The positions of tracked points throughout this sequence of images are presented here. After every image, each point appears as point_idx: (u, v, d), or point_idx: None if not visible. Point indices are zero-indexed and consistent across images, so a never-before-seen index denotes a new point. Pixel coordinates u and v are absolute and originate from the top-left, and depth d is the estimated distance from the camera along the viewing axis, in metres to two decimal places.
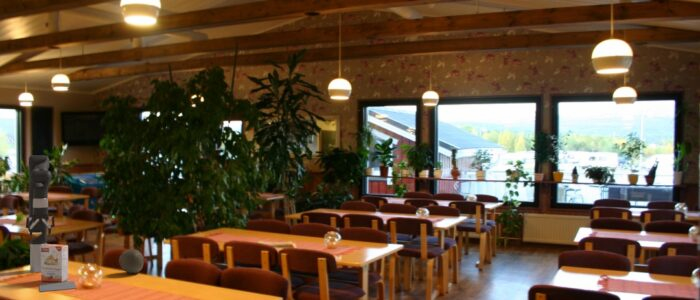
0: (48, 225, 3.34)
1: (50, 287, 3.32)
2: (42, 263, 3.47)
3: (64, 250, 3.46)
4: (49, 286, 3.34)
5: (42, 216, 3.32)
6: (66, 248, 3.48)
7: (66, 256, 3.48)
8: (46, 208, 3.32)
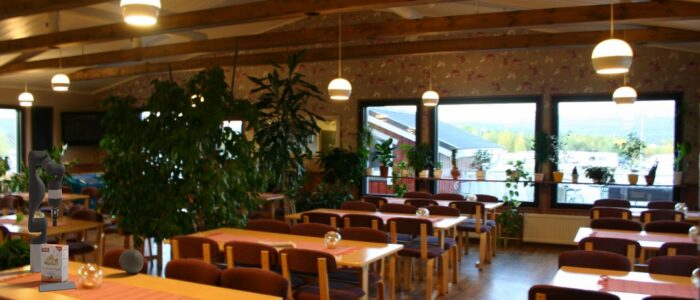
0: (56, 216, 3.57)
1: (50, 287, 3.32)
2: (42, 263, 3.47)
3: (64, 250, 3.46)
4: (49, 286, 3.34)
5: None
6: (66, 248, 3.48)
7: (66, 256, 3.48)
8: None
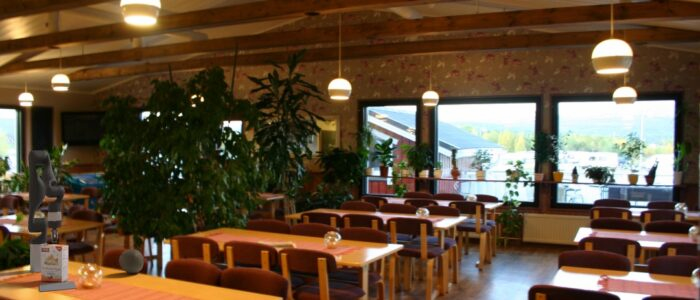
0: (56, 238, 3.57)
1: (50, 287, 3.32)
2: (42, 263, 3.47)
3: (64, 250, 3.46)
4: (49, 286, 3.34)
5: None
6: (66, 248, 3.48)
7: (66, 256, 3.48)
8: None
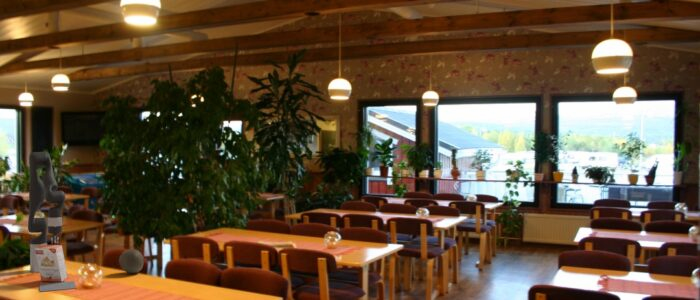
0: None
1: (50, 287, 3.32)
2: (39, 264, 3.44)
3: (58, 251, 3.41)
4: (49, 286, 3.34)
5: None
6: (60, 248, 3.43)
7: (62, 256, 3.44)
8: None
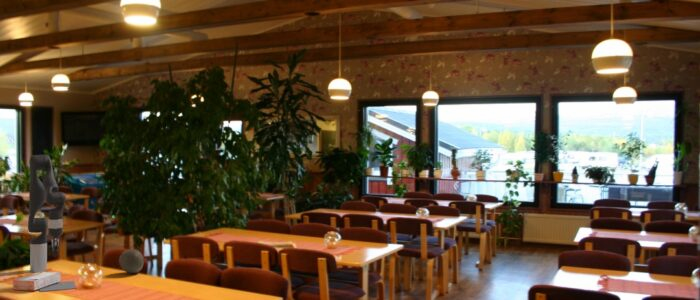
0: (57, 246, 3.45)
1: (50, 287, 3.32)
2: None
3: (37, 285, 3.26)
4: (49, 286, 3.34)
5: None
6: (36, 282, 3.25)
7: (42, 280, 3.30)
8: None
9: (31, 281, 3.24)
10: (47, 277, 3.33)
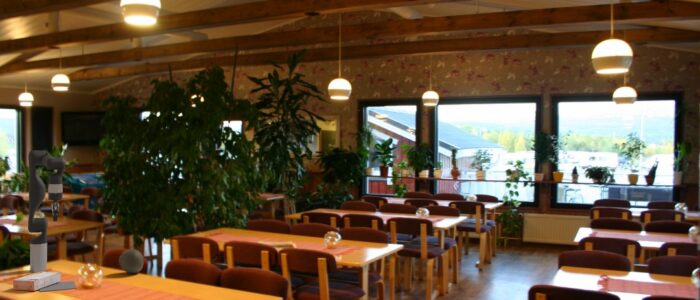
0: None
1: (50, 287, 3.32)
2: None
3: (37, 286, 3.26)
4: (49, 286, 3.34)
5: None
6: (36, 282, 3.25)
7: (42, 280, 3.30)
8: None
9: (31, 281, 3.24)
10: (47, 277, 3.33)
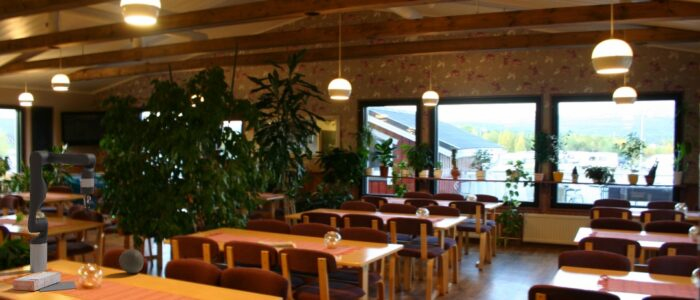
0: None
1: (50, 287, 3.32)
2: None
3: (37, 286, 3.26)
4: (49, 286, 3.34)
5: None
6: (36, 282, 3.25)
7: (42, 280, 3.30)
8: None
9: (31, 281, 3.24)
10: (47, 277, 3.33)
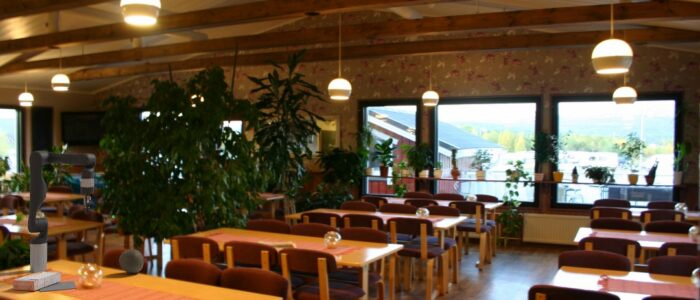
0: None
1: (50, 287, 3.32)
2: None
3: (37, 286, 3.26)
4: (49, 286, 3.34)
5: None
6: (36, 282, 3.25)
7: (42, 280, 3.30)
8: None
9: (31, 281, 3.24)
10: (47, 277, 3.33)
